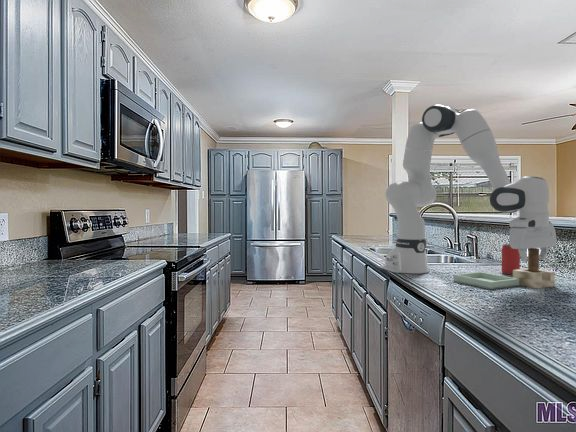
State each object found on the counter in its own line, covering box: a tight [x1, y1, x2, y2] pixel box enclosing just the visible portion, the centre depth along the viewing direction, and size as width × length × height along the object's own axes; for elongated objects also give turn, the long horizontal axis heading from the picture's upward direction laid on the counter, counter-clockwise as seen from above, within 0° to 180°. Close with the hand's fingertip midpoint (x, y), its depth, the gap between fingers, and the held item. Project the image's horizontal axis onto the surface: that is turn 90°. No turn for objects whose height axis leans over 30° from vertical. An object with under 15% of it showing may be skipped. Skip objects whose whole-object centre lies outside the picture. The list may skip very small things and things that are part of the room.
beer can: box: [501, 243, 521, 276], centre depth 158 cm, size 7×7×12 cm
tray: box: [453, 271, 520, 290], centre depth 138 cm, size 16×14×2 cm
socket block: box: [512, 267, 556, 289], centre depth 135 cm, size 9×9×5 cm
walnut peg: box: [527, 248, 540, 272], centre depth 135 cm, size 3×3×13 cm
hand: (533, 260), depth 135 cm, fingers open, 8 cm apart
